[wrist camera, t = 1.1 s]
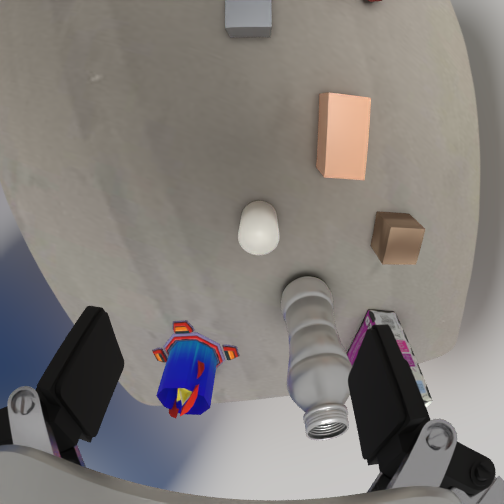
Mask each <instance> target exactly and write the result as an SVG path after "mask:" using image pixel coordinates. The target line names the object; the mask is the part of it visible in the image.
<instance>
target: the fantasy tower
mask: <svg viewBox="0 0 504 504" xmlns="http://www.w3.org/2000/svg"><path fill="white" fill-rule="evenodd" d="M173 330H174V332H175V334H173V335H172V336H171V337H170V339H169V340H168V341H167V342H166V344H165V345H164V346H163V347H164V349H165V351H166V352H167V354H168V359H167V357H166V355H165V353H164V351H163V349H162V348H157V349H154V350H152V351H153V353H154V355H155V357H156V359H157V360H158V361H161V362H166V366H165V369H164V372H163V376H162V379H161V382H160V386H159V389H158V392H157V397H158V399H159V400H160V401H161V403H162V404H163V406H164V407H166V408H169V414H170V416H171V417H174V418H176V417H177V414H178V413H180V416H182V415H183V414H193V415H195V414H196V415H201V414H202V413H203V412H205V411H206V410H208V409H209V408H210V405H211V398H212V391H213V385H214V378H215V372H216V368H217V367H218V366H219V365H220V364H222V363H223V362H224V361H225V358H224V355H223V352H222V350H221V347H220V344H219V343H217V342H215V341H213V340H211V339H209V338H207V337H205V336H203V335H201V334H199V333H198V332H194V333H191V332H193V331H194V328H193V327H192V325H191V324H190V323H189V322H188V321H187V320H185V321H173ZM223 349H224V352H225V355H226V358H227V360H231V359H234V358H236V357H238V356H239V353H238V349H237V346H231V345H223Z"/></svg>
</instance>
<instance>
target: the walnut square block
mask: <svg viewBox="0 0 504 504" xmlns="http://www.w3.org/2000/svg"><path fill="white" fill-rule="evenodd" d="M424 232H425V228H424V227H423V226H422V225H421V224H419V223H418V222H417V221H416V220H415V219H414V218H413V217H412V216H411V215H410V214H406V213H392V212H377V214H376V219H375V225H374V231H373V236H372V241H371V247H372V249H373V250H374V252H375V253H376V255H377V256H378V258H379V260H380V261H381V263H382V264H416V262H417V259H418V255H419V251H420V248H421V244H422V240H423V236H424Z"/></svg>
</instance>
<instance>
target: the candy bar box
mask: <svg viewBox="0 0 504 504" xmlns="http://www.w3.org/2000/svg"><path fill="white" fill-rule="evenodd" d="M383 324H388V325H389V326H390V328H391V330H392V332H393V334H394V337H395V339H396V341H397V343H398V346H399V348H400V350H401V353H402V355H403V357H404V358H405V359H406V360H407V361H408V363H409V365H410V368H411V370H412V373H413V375H414V378H415V380H416V383H417V385H418V388H419V390H420V393H421V396H422V398H423V401H424V404H425V406H426V407H427V406H428V405H429V404H430V403H431V402H432V398H431V396H430V393H429V390H428V387H427V385H426V383H425V380H424V378H423V375H422V373H421V370H420V368H419V365H418V363H417V360H416V358H415V356H414V354H413V351H412V349H411V346H410V344H409V342H408V340H407V337H406V335H405V333H404V331H403V328H402V326H401V324H400V322H399V320H398V318H397V316H396V313H395V312H390V311H380V310H368V312H367V314H366V317H365V319H364V321H363V323H362V325H361V327H360V329H359V331H358V333H357V335H356V337H355V339H354V341H353V343H352V345H351V347H350V349H349V351H348V353H347V356H348V358H349V361H350V363H351V365H352V366H353V364H354V361H355V359H356V356H357V354H358V351H359V349H360V346H361V344H362V341H363V339H364V336H365V333H366V331H367V329H371V327H372V326H373V325H383Z"/></svg>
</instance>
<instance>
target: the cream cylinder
mask: <svg viewBox="0 0 504 504" xmlns="http://www.w3.org/2000/svg"><path fill="white" fill-rule="evenodd" d="M238 240H239V243H240V245H241V247H242V248H243V249H244V250H245V251H246V252H248V253H250V254H253V255H264V254H267V253H269V252H271V251H272V250H274V249H275V247H276V246H277V244H278V242H279V228H278V220H277V213H276V211H275V209H274V207H273V206H272V205H270V204H269V203H267V202H264V201H254V202H251V203H249V204H248V205H247V206H246V207H245V208H244V209H243V211H242V215H241V221H240V227H239V232H238Z"/></svg>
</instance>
